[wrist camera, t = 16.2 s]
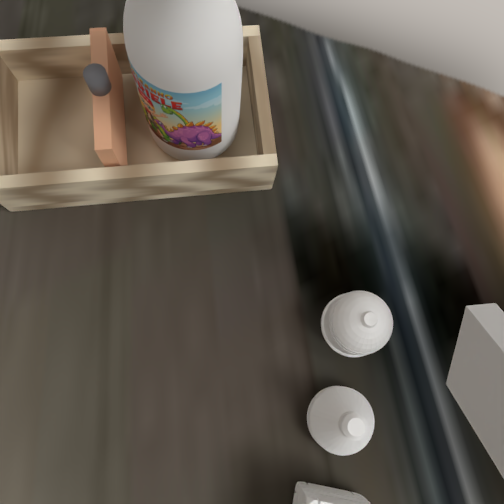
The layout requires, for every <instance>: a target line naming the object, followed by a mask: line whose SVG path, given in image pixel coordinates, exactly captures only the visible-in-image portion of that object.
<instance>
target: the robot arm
mask: <svg viewBox="0 0 504 504" xmlns="http://www.w3.org/2000/svg"><path fill="white" fill-rule="evenodd" d="M446 385H447V387H448V388H449V390H450V392H451V393H452V395H453V396H454V398H455V400H456V401H457V403H458V405H459V406H460V408H461V410H462V411H463V413H464V415H465V416H466V418H467V419H468V421H469V423H470V424H471V426H472V428H473V429H474V431H475V433H476V434H477V436H478V438H479V439H480V441H481V442H482V444H483V446H484V447H485V449H486V451H487V452H488V454H489V456H490V457H491V459H492V461H493V462H494V464H495V465H496V467H497V469H498V470H499V472H500V474H501V475H502V477H503V479H504V312H503V311H502V310H501V308H500V307H499V306H498V305H497V304H496V303H489V304H479V305H469V306H466V308H465V312H464V316H463V320H462V324H461V327H460V331H459V335H458V339H457V343H456V347H455V351H454V354H453V358H452V362H451V366H450V370H449V374H448V378H447V381H446Z"/></svg>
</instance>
